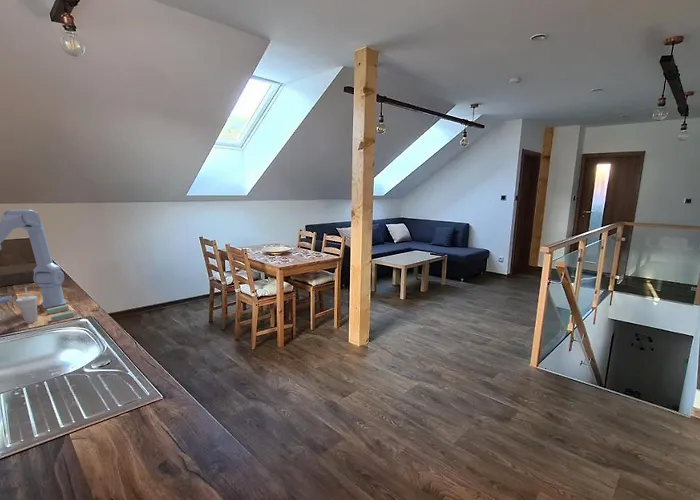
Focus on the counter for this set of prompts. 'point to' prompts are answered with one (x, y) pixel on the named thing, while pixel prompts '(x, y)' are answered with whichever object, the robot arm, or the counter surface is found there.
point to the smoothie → (28, 307)
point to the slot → (60, 316)
